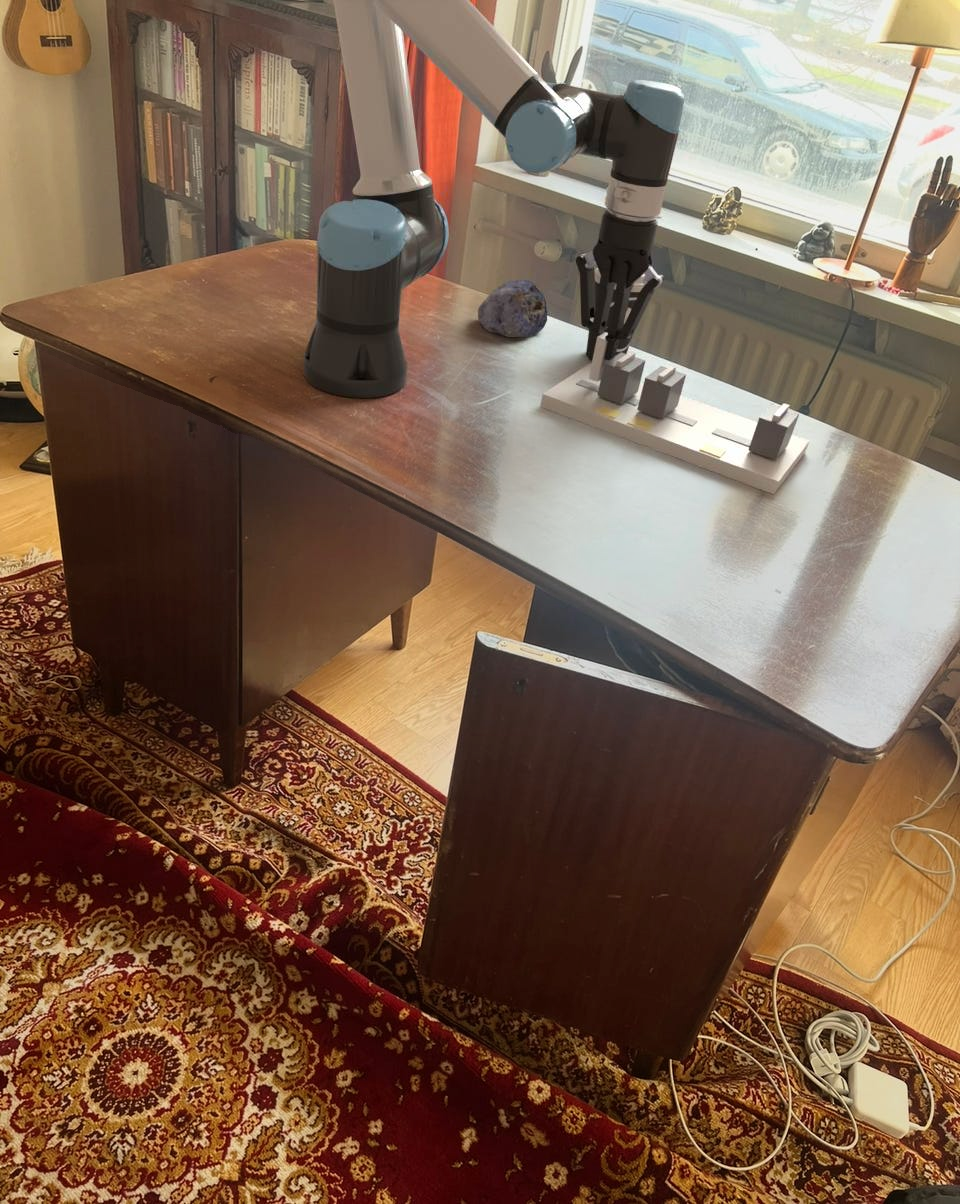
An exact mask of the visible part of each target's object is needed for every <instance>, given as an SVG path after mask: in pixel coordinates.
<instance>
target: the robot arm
mask: <svg viewBox="0 0 960 1204" xmlns="http://www.w3.org/2000/svg"><path fill="white" fill-rule="evenodd" d="M333 6H334V12H335V21H336V25H337V31H338V38H339V45H340V51H341V56H342V62H343V63H342V64H343V69H344V77H345V82H346V89H347V96H348V102H349V109H350V115H351V121H352V128H353V133H354V140H355V146H356V154H357V159H358V164H359V165H358V167H359V172H360V178H359V180H358V181H357V182H356V184H355V185H354V187H353V188H352V194H353V195H352V196H353V200H352V201H349V200H343V201H338V202H336V203H334V204H332V205H330V206H329V207H327V208H326V209H325V210H324V211H323V213H322V214H321V216H320V218H319V222H318V224H319V225H318V233H317V236H316V248H317V260H316V261H317V267H316V268H317V269H316V270H317V271H316V273H317V274H316V320H315V325H314V327H313V330H312V332H311V335H310V339H309V340H308V344H307V346H306V350H305V352H304V355H303V360H302V361H303V362H302V364H303V365H302V367H303V368H302V369H303V370H302V374H303V378H304V379H305V380H306V382H308V384H310V385H311V386H312V387H315V388H317V389H318V390H320V391H323V392H325V393H328V394H333V395H336V396H342V397H347V398H357V399H370V398H379V397H386V396H389V395H392V394H395V393H397V392H399V391H400V390H402V388H404V387H405V386H406V383H407V377H408V364H407V361H406V358H405V353H404V348H403V344H402V339H401V336H400V329H399V328H400V327H399V325H400V323H399V322H400V311H401V300H402V299H401V298H402V290H404V289H405V288H406V287H408V286H409V285H411V284H412V283H414V282H415V281H416V280H418V279H419V278H422V277H424V276H426V275H427V274H428V273H430V272H431V271H433V269H434V268H435V267H436V265H437V264H438V263H439V262H440V260H442V258H443V256H444V254H445V253H446V251H447V247H448V243H449V235H450V233H449V230H450V229H449V222H448V219H447V215H446V213H445V211H444V209H443V207H442V206H441V204H439V203H438V201H437V200H436V199H435V194H434V186H433V180H432V179H431V177H430V176H428V175H427V173H425V172H423V170H422V169H421V165H420V157H419V148H418V140H417V131H416V125H415V124H416V123H415V117H414V116H415V115H414V110H413V109H414V107H413V102H412V101H413V100H412V92H411V84H410V76H409V70H408V69H409V67H408V61H407V51H406V45H405V37H404V34H405V36H406V37H407V38H409V40H410V41H411V42H412V43H413V44H414V45H415V46H416V48H418V49H419V50H420V52H421V53H423V54H424V55H425V57H426V58H428V59H429V60H430V62H431V63H432V64H433V65H434V66H435V67H436V68H437V69H438V71H440V72H441V74H443V75H444V76H445V77H446V78H447V79H448V80H449V81H450V82H451V83H452V84H453V85H454V87H456V89H458V91H460V93H461V94H462V95H464V97H465V98H466V99H467V100H468V101H469V102H470V103H471V105H472V106H474V107H475V108H476V109H477V110H478V111H479V112H480V114H482V116H484V118H485V119H486V120H487V121H489V123H490V124H491V125H492V126H493V127H494V128H496V130H497V131H498V133H500V134H501V135H502V136H503V137H504V138H505V146H506V150H507V152H508V155H509V158H510V159H511V160H512V162H513V163H514V164H515V165H516V166H517V167H518V168H520V169H521V170H523V171H525V172H526V173H529V174H530V173H531V174H543V173H547V172H552V171H554V170H556V169H559V168H560V167H561V166H563V165H565V164H566V163H567V162H568V161H569V160H570V159H571V158H573V157H574V156H576V155H582V156H589V157H594V158H599V159H602V160H609V161H612V165H611V171H610V175H609V181H608V186H607V191H606V196H605V201H604V206H605V208H607V209H606V210H605V211H603V212H602V217H601V222H600V226H599V232H598V240H597V242H596V244H595V245H594V247H593V249H592V251H590V252H585V253H582V254H580V255H578V256H576V258H575V264H576V266H577V270H578V273H579V288H580V289H579V291H580V293H579V294H580V295H579V296H580V297H579V299H580V324H581V327H583V328H587V329H588V331H589V330H590V331H591V333H592V336H591V341H590V346H589V354H590V355H593V360H592V361H591V364H592V365H591V370H590V375H589V379H591V380H593V381H596V382H598V381H599V380H601V376H602V372H603V367H604V363H606V362H607V361H609V360H610V359H612V358H613V357H615V356H616V351H617V347H618V342H619V339H623V340H625V339H626V338H628V337H630V336H631V335H634V334H635V332H636V329H637V327H638V325H639V323H640V321H641V319H642V317H643V315H644V313H645V311H646V309H647V307H648V305H649V302H650V301H651V299H652V296H653V295H654V292H655V291H656V290H657V289H658V288H659V287H660V286H661V285H662V284H663V283H664V281H665V276H664V275H663V274H661V273H660V274H658V273H657V272H656V270H655V269H654V268H653V266H652V265H653V260H652V249H653V246H654V242H655V237H656V233H657V228H658V224H659V221H658V219H657V218H656V217H658V216H659V215H661V211H662V206H663V201H664V197H665V192H666V188H667V184H668V179H669V174H670V171H671V166H672V164H673V163H672V162H673V158H674V154H675V150H676V146H677V141H678V138H679V134H680V131H681V130H680V129H681V127H680V125H681V120H682V114H683V110H684V106H685V95H684V93H683V90H681V89H680V87H678V86H675V85H673V84H669V83H664V82H661V81H652V80H646V79H635V80H631V81H629V83H628V85H627V87H626V90H625V92H624V93H623V94H612V93H607V92H602V91H597V90H592V89H586V88H583V87H578V86H573V85H569V84H568V83H563V82H559V83H556V82H555V83H554V82H548V81H547V82H546V81H545V80H544V79H543V78H542V77H541V76H540V75H539V74H538V72H537V71H536V70H535V69H534V68H533V66H531V65H530V64H529V63H528V62H527V61H526V59H525V58H524V57H523V56H522V55H521V54H520V53H519V52H518V50H516V49H515V48H514V47H513V45H511V44H510V42H509V41H508V40H507V39H506V38H505V37H504V36H503V35H502V34H501V33H500V31H498V30H497V29H496V27H494V25H493V24H492V23H491V22H490V21H489V20H488V19H487V18H486V17H485V16H484V15H483V14H482V12H480V10H478V8H477V7H476V6H475V5H474V4H473V3H472V2H471V1H470V0H333ZM595 267H597V268H598V269H599V272H600V275H601V278H600V283H599V287H600V290H599V295H598V300H597V305H596V309H595V270H596V269H595ZM643 274H645V278H644V280H643V284H644V287H643V288H642V289H641V291H640V293H639V295H638V297H637V299H636V301H635V303H634V305H633V307H632V309H631V311H630V313H629V316H628V318H627V320H626V322H625V324H624V320H625V316H626V311H627V306H628V302H629V297H630V293H631V290H632V288H633V284H634V282H635V281H637V280H638V279H639V278H640V277H641V276H642V275H643ZM616 284H617V285H616ZM615 285H616V296H615V301H614V306H613V311H612V316H611V320H610V325H609V330H608V333H606V332H604V330H606V329H607V328H608V327H606V324H607V320H608V315H609V310H610V305H611V301H612V296H613V291H614V287H615ZM623 325H624V326H623Z"/></svg>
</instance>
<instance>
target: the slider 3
mask: <svg viewBox="0 0 960 1204" xmlns="http://www.w3.org/2000/svg"><path fill="white" fill-rule="evenodd" d="M789 408H790V404H787V403H782V405H781V406H780V405H777V404H774V403H771V404H770V405H769V407H767V408H766V409H765V411H764V412H763V413H762V414H761V415H760V416H759V418H758V420H757V422H758V423H757V426H756V429H755V432H754V435H753V438H752V441H751V444H750V446H749V449H748V450H749V451H752V452H754V453H757V454H760V455H763V456H765V457H768V458H771V459H774V460H776V459H777V458H778V457H779V456H780V455H781V453H782V452H783V451H784V450H785V448H786V447H787V446H788V444H789V441H790V438H791V436H792V435H793V432H794V430H795V427H796V424H797V422H798V418H799V416H800V412H797V411H794V410H792V409H789Z"/></svg>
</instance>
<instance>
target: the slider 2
mask: <svg viewBox="0 0 960 1204" xmlns="http://www.w3.org/2000/svg"><path fill="white" fill-rule="evenodd" d="M676 369H677V366H675V365H671V364H670V365H669V366H668V367H666V366H662V365H660V366H659V367H657V368H656V369H655V370H654V371H652V372H651V373H649V374H648V375H647V376H645V378H644V385H643V389H642V393H641V397H640V401H639V405H638V409H637V410H639V411H641V412H644V413H647V414H650V415H652V416H655V417H658V418H661V419H663V418H664V417H665V416H667V415H668V414H669V413H670V412H671V411H672V410H674V409H675V408H676V407H677V406H678V402H679V399H680V395H681V396H682V392H683V387H684V384H685V380H686V376H687V374H686V373H683V372H680V371H677V370H676Z"/></svg>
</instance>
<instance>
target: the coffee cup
mask: <svg viewBox="0 0 960 1204" xmlns="http://www.w3.org/2000/svg"><path fill="white" fill-rule="evenodd" d="M594 270H595V309H596V305H597V300H598V295H599V290H600V287H599V283H600V278H601V275H600V272H599V269H598V267H597V268H595V269H594ZM644 278H645V274H643V275H642V276H641V277H640V278H639V279H638V280H637V281H635V282H634V284H633V288H632V290H631V293H630V297H629V302H628V306H627V311H626V316H625V320H624V324H625V322H626V320H627V318H628V316H629V313H630V311H631V309H632V307H633V305H634V303H635V301H636V299H637V297H638V295H639V293H640V291H641V289H642V288H643V287H644V284H643V280H644ZM616 285H617V284H616ZM616 285H615V287H614V291H613V296H612V301H611V305H610V310H609V315H608V320H607V324H606V327H608V328H607V329H606V330H604V332H606V333H608V330H609V325H610V320H611V316H612V311H613V306H614V301H615V296H616ZM623 326H624V325H623ZM633 335H634V334H633ZM633 335H631V336H630V337H628V338H626V339H625V340H623V339H619V342H618V347H617V351H616V355H618V354H619V353H621V352H622V353H625V354H628V351H629V348H630V345H631V342H632V338H633ZM591 336H592V333H591V331H590V330H589V329H588V335H587V342H586V352H585V357H586V358H587V359H588V360H589V361H591V362H592V360H593V355H590V354H589V346H590V341H591Z"/></svg>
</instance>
